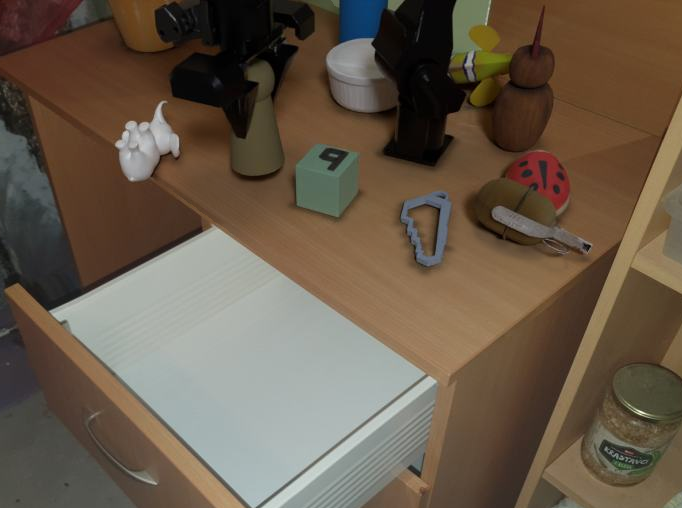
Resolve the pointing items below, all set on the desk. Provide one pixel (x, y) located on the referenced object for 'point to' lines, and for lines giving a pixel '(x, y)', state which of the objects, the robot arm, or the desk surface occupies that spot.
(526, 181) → the ladybug figurine
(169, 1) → the flower pot
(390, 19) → the robot arm
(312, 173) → the letter block
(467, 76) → the fish toy
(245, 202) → the desk surface
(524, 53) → the wooden figurine
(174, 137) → the elephant figurine
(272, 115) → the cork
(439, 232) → the key tool
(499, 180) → the grenade
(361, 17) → the beverage can
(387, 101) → the ramekin
